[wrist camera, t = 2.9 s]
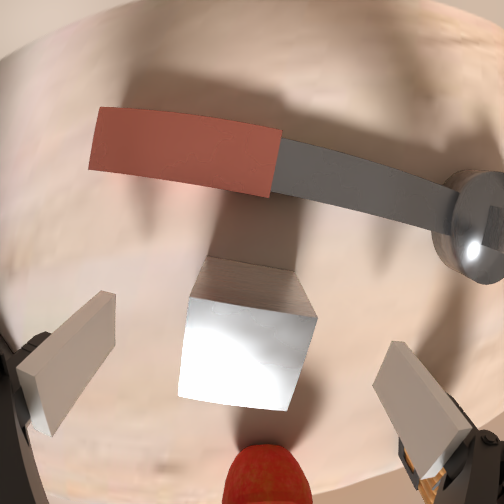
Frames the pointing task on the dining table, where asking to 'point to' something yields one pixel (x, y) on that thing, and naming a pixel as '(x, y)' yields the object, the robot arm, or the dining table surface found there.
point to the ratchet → (308, 178)
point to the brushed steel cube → (245, 335)
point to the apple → (266, 478)
